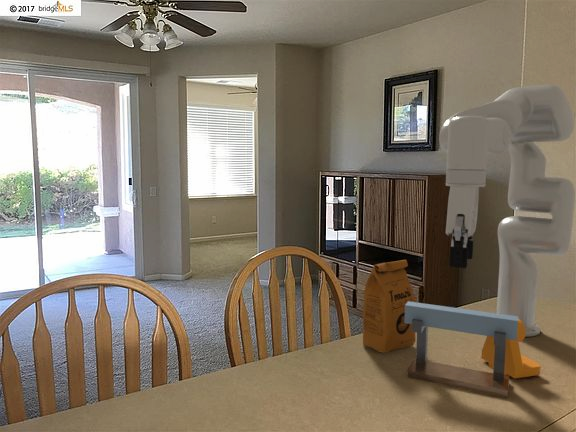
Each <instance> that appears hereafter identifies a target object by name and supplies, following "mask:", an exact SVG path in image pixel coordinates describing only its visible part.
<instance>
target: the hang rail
mask: <svg viewBox="0 0 576 432" xmlns="http://www.w3.org/2000/svg"><path fill="white" fill-rule="evenodd" d="M413 319H418V320H423V326H427V327H428V328H434V329H439V330H440V329H441V330H447V331H453V332H459V333H465V334H471V335H472V334H473V335H479V336H484V337H487V336H490V337H494V332H495V331H497V332H504V333H506V338H505V339H509V340H516V341H517V330H518V316H512V315H504V314H497V312H496V313H495V312H490V311H489V312H488V311H481V310H474V309H473V310H472V309H466V308H461V307H460V308H459V307H453V306H445V305H436V304H429V303H422V302H417V301H415V302H409V301H408V302H407V303H406V305H405V320H404V323H408V324H412V320H413Z"/></svg>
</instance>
